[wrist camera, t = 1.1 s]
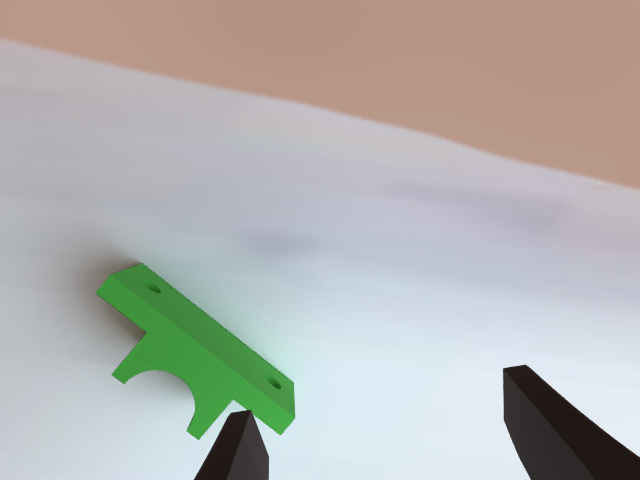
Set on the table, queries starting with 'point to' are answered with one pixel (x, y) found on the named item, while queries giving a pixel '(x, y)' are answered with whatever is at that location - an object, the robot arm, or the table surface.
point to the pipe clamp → (196, 352)
